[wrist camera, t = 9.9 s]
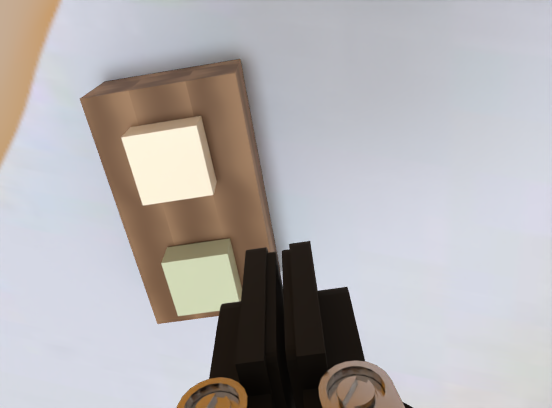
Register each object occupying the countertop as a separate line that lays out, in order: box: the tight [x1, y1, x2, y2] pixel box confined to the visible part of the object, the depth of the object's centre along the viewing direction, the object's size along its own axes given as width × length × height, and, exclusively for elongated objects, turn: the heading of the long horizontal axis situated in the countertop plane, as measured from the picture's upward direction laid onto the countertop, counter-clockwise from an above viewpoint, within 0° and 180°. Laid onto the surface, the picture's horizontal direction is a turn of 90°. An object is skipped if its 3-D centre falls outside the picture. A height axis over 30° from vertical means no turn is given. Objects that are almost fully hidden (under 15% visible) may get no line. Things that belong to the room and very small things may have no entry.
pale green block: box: [161, 238, 242, 316], centre depth 44 cm, size 6×6×7 cm
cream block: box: [121, 116, 217, 205], centre depth 39 cm, size 6×6×7 cm
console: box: [80, 59, 280, 324], centre depth 44 cm, size 12×22×6 cm, turn 9°
